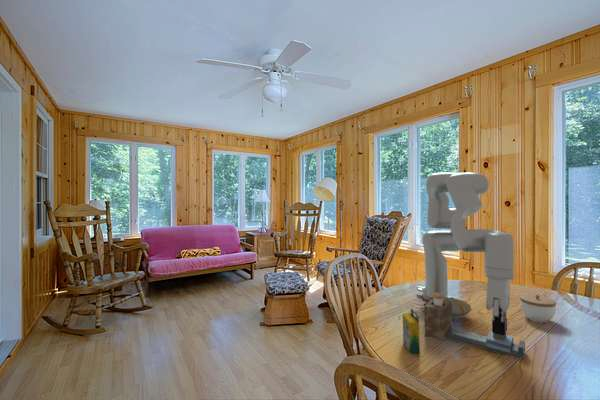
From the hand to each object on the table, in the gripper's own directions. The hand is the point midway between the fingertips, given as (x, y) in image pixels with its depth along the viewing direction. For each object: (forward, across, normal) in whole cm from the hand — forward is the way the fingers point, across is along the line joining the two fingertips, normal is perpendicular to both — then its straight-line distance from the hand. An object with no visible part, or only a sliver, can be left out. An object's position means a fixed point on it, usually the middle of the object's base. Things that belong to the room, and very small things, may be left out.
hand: (499, 331), depth 91 cm
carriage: (+4, 0, 0) cm, 4 cm away
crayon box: (+6, +17, -21) cm, 28 cm away
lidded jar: (+6, -36, +7) cm, 37 cm away
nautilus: (+6, -17, -22) cm, 29 cm away
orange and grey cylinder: (-1, 0, -18) cm, 18 cm away
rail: (+6, 0, -4) cm, 7 cm away
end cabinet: (+6, 0, -18) cm, 19 cm away
